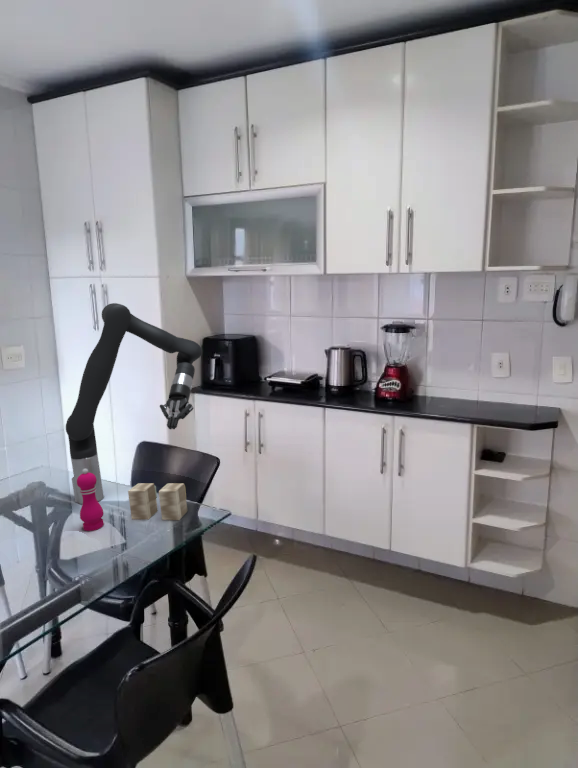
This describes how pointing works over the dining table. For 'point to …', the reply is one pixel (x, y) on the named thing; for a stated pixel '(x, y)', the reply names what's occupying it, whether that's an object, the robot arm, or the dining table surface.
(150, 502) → the post left
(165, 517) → the post right
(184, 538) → the dining table surface
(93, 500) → the pepper mill
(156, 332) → the robot arm
